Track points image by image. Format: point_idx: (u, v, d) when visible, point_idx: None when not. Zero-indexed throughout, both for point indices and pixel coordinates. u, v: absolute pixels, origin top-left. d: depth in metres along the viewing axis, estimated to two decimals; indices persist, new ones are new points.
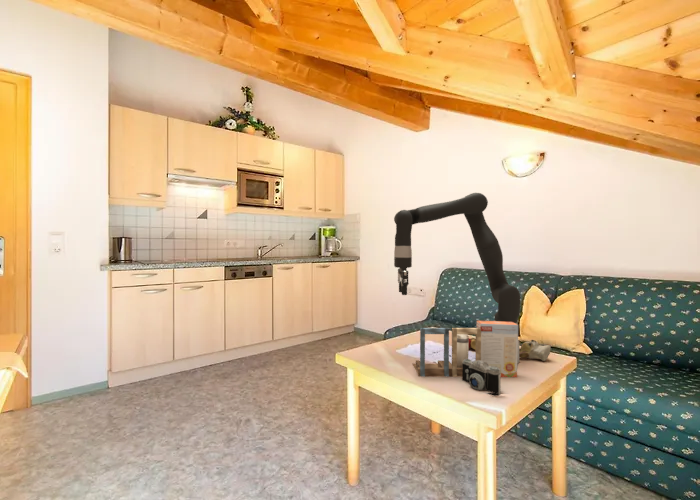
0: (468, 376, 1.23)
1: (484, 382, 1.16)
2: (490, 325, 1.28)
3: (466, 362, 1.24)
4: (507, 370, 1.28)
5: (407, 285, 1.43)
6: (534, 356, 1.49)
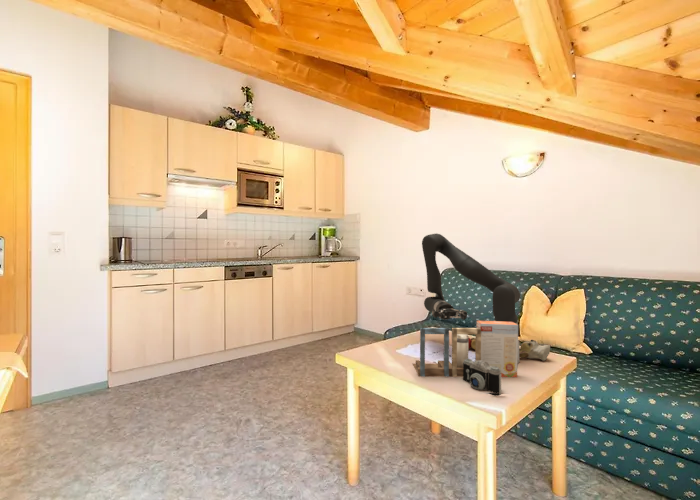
0: (469, 376, 1.23)
1: (485, 382, 1.16)
2: (490, 325, 1.28)
3: (467, 362, 1.24)
4: (507, 370, 1.28)
5: (439, 312, 1.48)
6: (534, 356, 1.49)
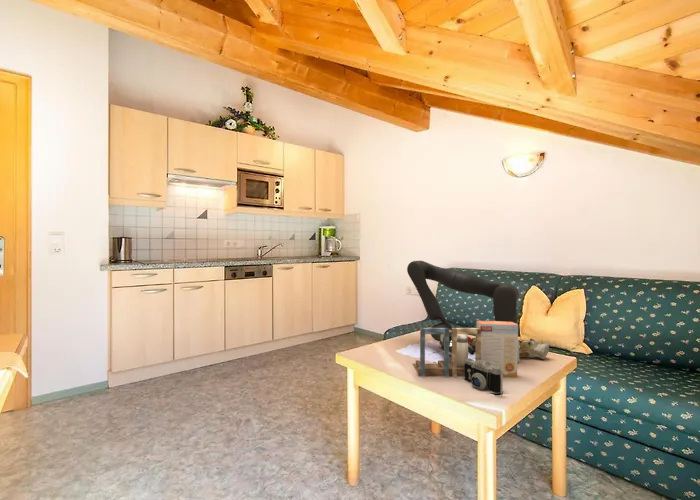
0: (470, 376, 1.23)
1: (486, 382, 1.16)
2: (490, 325, 1.28)
3: (468, 362, 1.24)
4: (507, 370, 1.28)
5: (449, 346, 1.36)
6: (534, 355, 1.50)
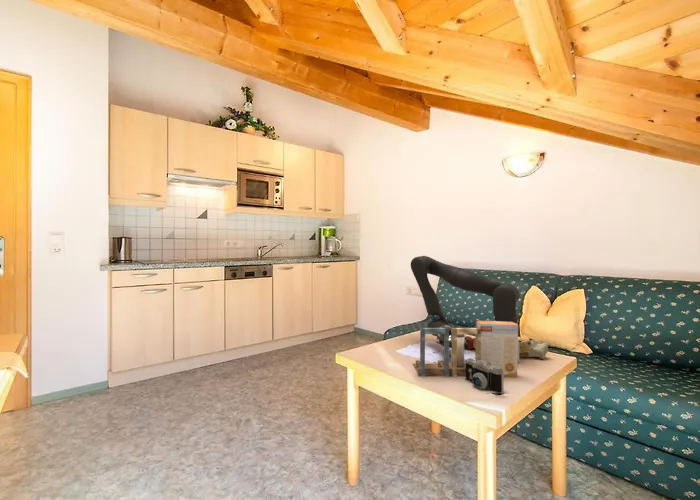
0: (471, 375, 1.23)
1: (487, 382, 1.16)
2: (490, 325, 1.28)
3: (469, 362, 1.24)
4: (507, 370, 1.28)
5: None
6: (533, 354, 1.51)
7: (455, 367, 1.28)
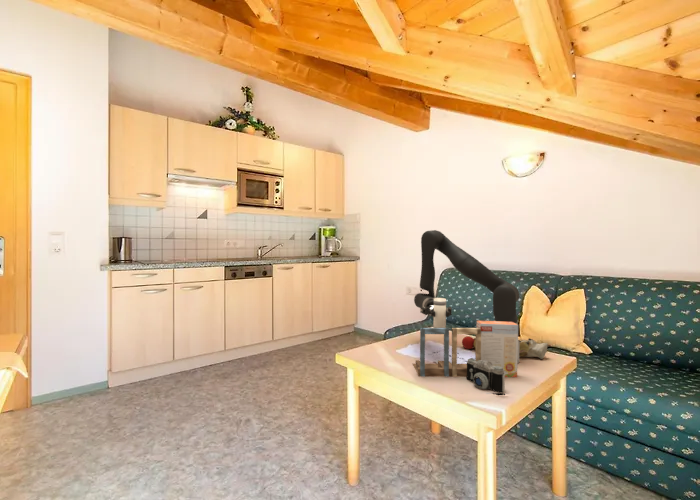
0: (472, 375, 1.23)
1: (488, 381, 1.16)
2: (490, 325, 1.28)
3: (470, 361, 1.24)
4: (507, 370, 1.28)
5: (430, 309, 1.45)
6: (532, 354, 1.51)
7: (455, 367, 1.28)
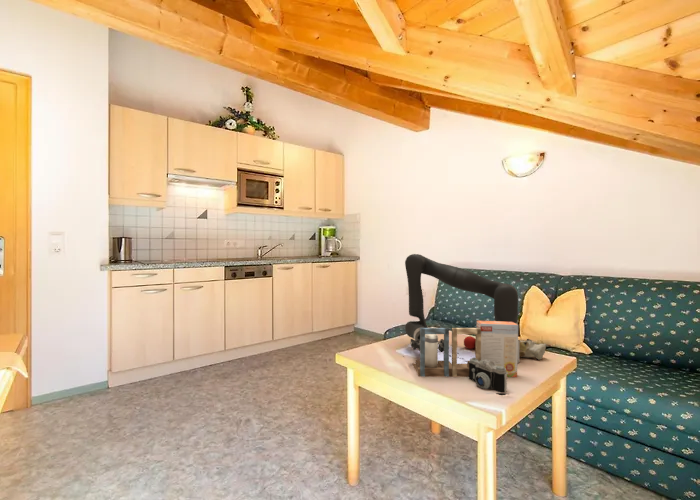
0: (474, 375, 1.23)
1: (490, 381, 1.16)
2: (490, 325, 1.28)
3: (473, 361, 1.25)
4: (507, 370, 1.28)
5: (418, 343, 1.36)
6: (530, 355, 1.50)
7: (455, 367, 1.28)
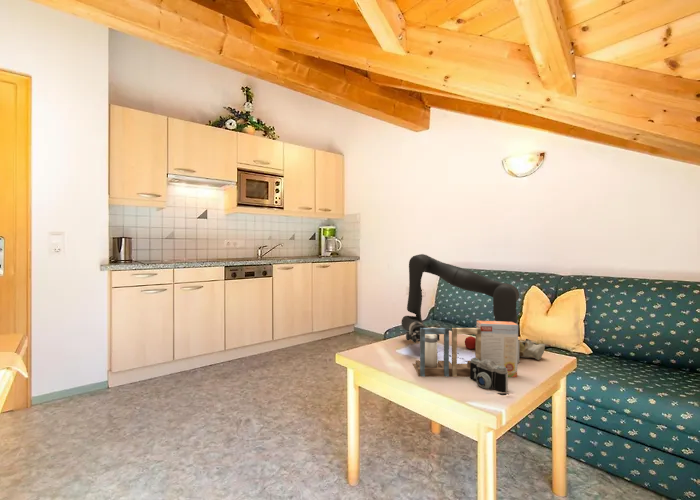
0: (476, 375, 1.24)
1: (491, 381, 1.17)
2: (490, 325, 1.28)
3: (474, 361, 1.25)
4: (507, 370, 1.28)
5: (411, 335, 1.48)
6: (528, 355, 1.50)
7: (455, 367, 1.28)
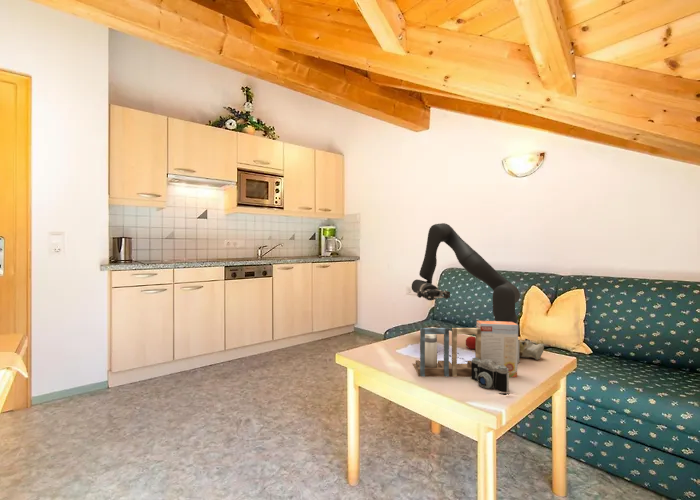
0: (477, 375, 1.24)
1: (492, 381, 1.17)
2: (490, 325, 1.28)
3: (475, 361, 1.25)
4: None
5: (423, 292, 1.53)
6: (527, 355, 1.51)
7: (455, 367, 1.28)
